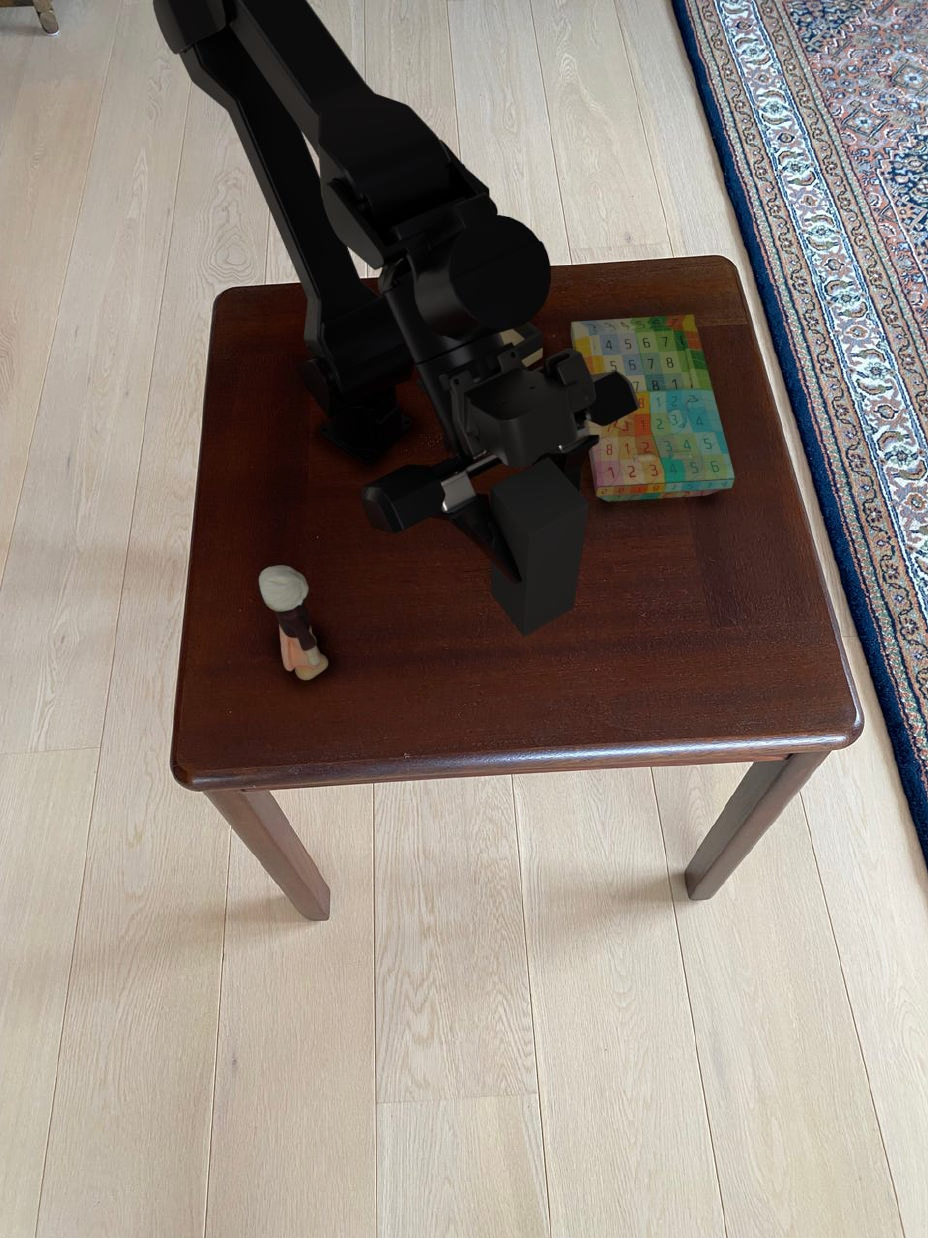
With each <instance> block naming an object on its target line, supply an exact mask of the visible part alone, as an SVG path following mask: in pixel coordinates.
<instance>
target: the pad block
mask: <svg viewBox="0 0 928 1238" xmlns="http://www.w3.org/2000/svg"><path fill="white" fill-rule="evenodd" d="M489 490H490V492H489V495H490V496H489V497H490V498H489V503H490V510H491V514H492V517H493V519H494V521H495V523H496V524H497V526H498V528H499V530H500V532H501V534H502V536H503V538H504V540H505V542H506V544H507V546H508V548H509V550H510V552H511V554H512V555H513V557H514V559H515V562H516V565H517V568H518V571H519V573H520V576H521V579H522V582H520V583H518V584H516V583H513V582H512V581H511V580H510V579H509V578H508V577H507V576H506V575H505V574H504V573H503V572H502V571H501V570H500V569H499V568H498V567H497V566H496V565H495V564H494V563H493V562H492V561H491V560H490V594H491V596H492V597H493V598H494V600H495V601H496V602H497V603H498V605H499V606H500V608H501V609H502V610H503V611H504V613H505V615H506V616H507V617H508V618H509V619H510V621H511V622H512V623H513V625H514V626H515V628H516V629H517V630H518V631H519V633H520V635H522V637H523V638H524V637H526V636H528V635H530V634H532V633H533V632H535V631H537V630H539V629H541V628H542V627H545V625H547V624H549V623H550V622H553V621H554V620H556V619H558V618H560V617H561V616H564V615H565V614H566V613H568V612H570V611H572V610H574V609H575V602H576V595H577V590H578V589H577V588H578V582H579V575H580V569H581V562H582V555H583V547H584V541H585V534H586V528H587V522H588V515H589V507H590V502H589V500H587V499H586V497H584V495H583V494H582V493H581V491H580V492H579V491H578V490H577V489H576V487H575V486H574V485H573V484H572V483H571V482H570V480H569V479H568V478H567V477H566V476H565V475H564V474H563V472H562V471H561V470H560V469H559V468H558V467H557V466H556V464H555V463H554V462H553V461H552V460H551V459H550V458H549V457H547V458H545V459H543V460H541V461H539V462H537V463H535V464H533V465H532V464H530V465H528V466H526V467H524V469H521V470H520V471H518V472H516V473H514V474H512V475H510V476H507V478H504V479H503V480H501V481H498V482H497V483H495V484H493V485H491V486H489Z"/></svg>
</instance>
